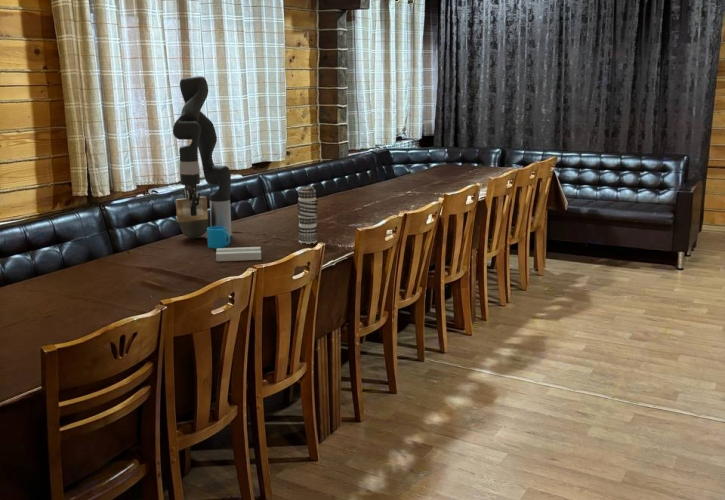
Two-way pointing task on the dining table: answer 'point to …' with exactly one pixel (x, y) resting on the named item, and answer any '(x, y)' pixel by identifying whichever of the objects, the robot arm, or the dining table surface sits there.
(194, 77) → the robot arm
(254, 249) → the notched stand
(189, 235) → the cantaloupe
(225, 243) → the mug
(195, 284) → the dining table surface
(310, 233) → the decorative candle
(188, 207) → the picture frame
